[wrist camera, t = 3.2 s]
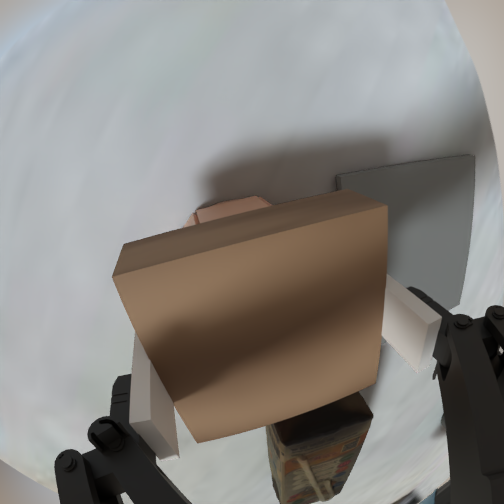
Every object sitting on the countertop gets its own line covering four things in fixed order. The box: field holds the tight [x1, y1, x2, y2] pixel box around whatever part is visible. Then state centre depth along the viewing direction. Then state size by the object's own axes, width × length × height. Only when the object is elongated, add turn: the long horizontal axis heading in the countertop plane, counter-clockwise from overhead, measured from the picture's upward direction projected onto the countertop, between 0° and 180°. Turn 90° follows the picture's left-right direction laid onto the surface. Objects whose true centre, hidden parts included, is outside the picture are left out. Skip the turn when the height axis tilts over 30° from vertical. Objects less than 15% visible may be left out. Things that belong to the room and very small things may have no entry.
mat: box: [336, 155, 475, 344], centre depth 22 cm, size 15×14×1 cm
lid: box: [112, 189, 388, 443], centre depth 13 cm, size 10×10×3 cm
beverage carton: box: [266, 391, 373, 504], centre depth 26 cm, size 8×19×7 cm, turn 5°
